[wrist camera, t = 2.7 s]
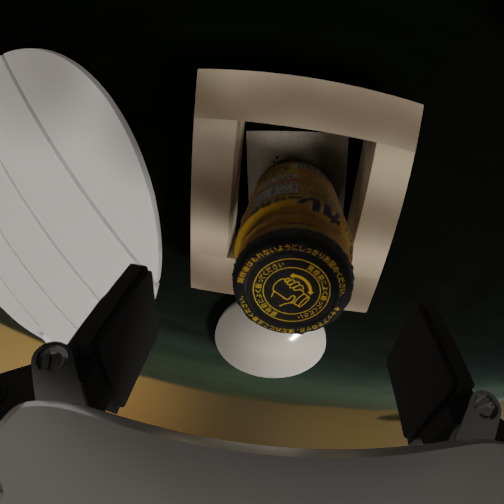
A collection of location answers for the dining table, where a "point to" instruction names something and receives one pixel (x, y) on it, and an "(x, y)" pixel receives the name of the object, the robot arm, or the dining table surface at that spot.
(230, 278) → the holder
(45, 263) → the lazy susan
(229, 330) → the coaster
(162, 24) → the dining table surface
